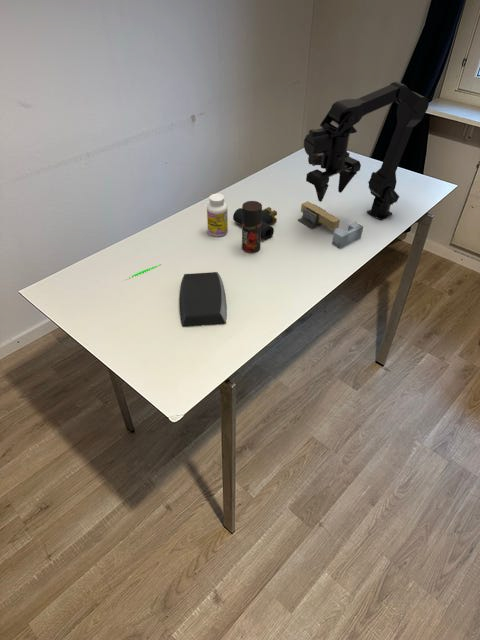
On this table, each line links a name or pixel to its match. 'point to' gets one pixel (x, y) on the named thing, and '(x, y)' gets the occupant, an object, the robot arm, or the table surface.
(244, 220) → the deodorant
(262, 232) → the pipe connector
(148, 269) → the pen
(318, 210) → the tan square rod
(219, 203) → the supplement bottle
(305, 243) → the table surface
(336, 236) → the slate-blue socket
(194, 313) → the external hard drive
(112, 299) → the table surface
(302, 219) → the grey sleeve
